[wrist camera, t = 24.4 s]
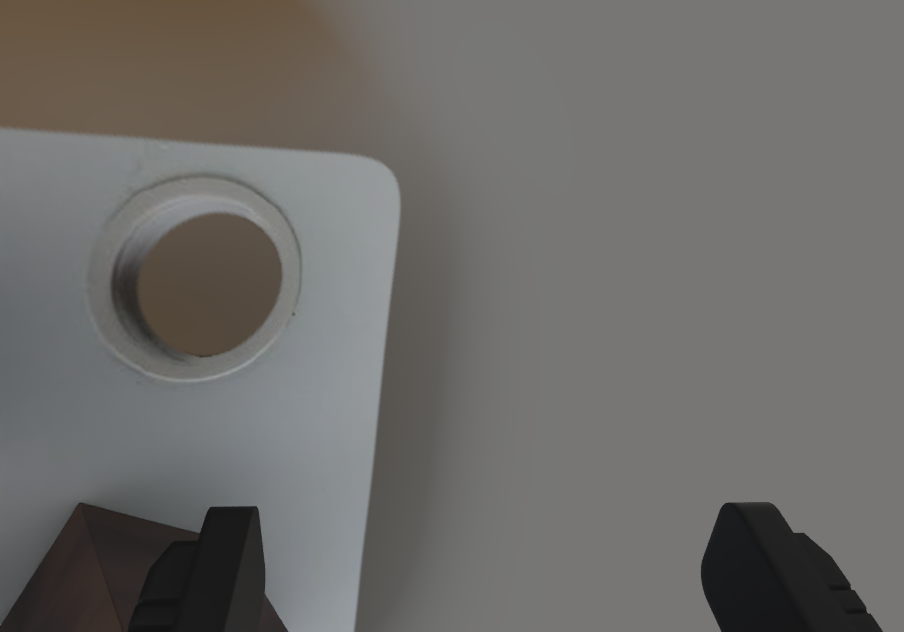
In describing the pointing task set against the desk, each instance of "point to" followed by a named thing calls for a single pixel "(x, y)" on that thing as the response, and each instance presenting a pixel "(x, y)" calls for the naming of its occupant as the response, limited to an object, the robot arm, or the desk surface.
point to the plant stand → (99, 575)
